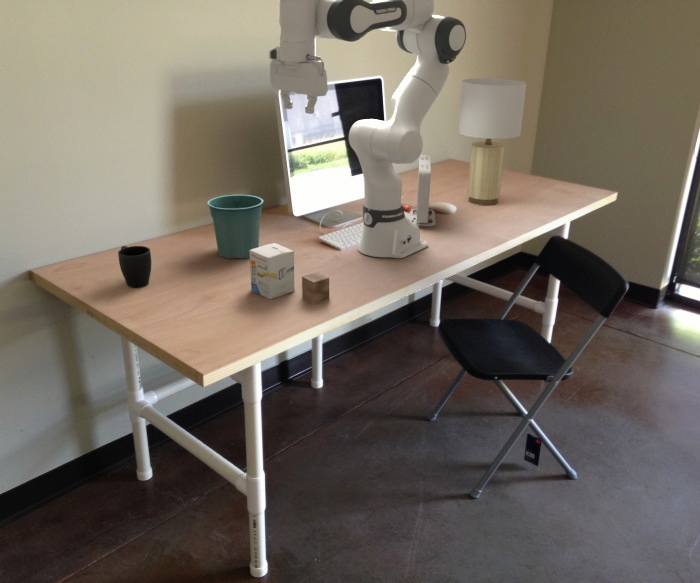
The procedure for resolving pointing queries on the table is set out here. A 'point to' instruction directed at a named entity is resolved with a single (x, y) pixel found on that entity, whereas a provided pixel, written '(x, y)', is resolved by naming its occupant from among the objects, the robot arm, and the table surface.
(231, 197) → the flower pot
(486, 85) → the lamp
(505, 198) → the table surface
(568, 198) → the table surface
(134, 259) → the mug
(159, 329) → the table surface
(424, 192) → the network device
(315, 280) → the walnut block
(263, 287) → the ink box
